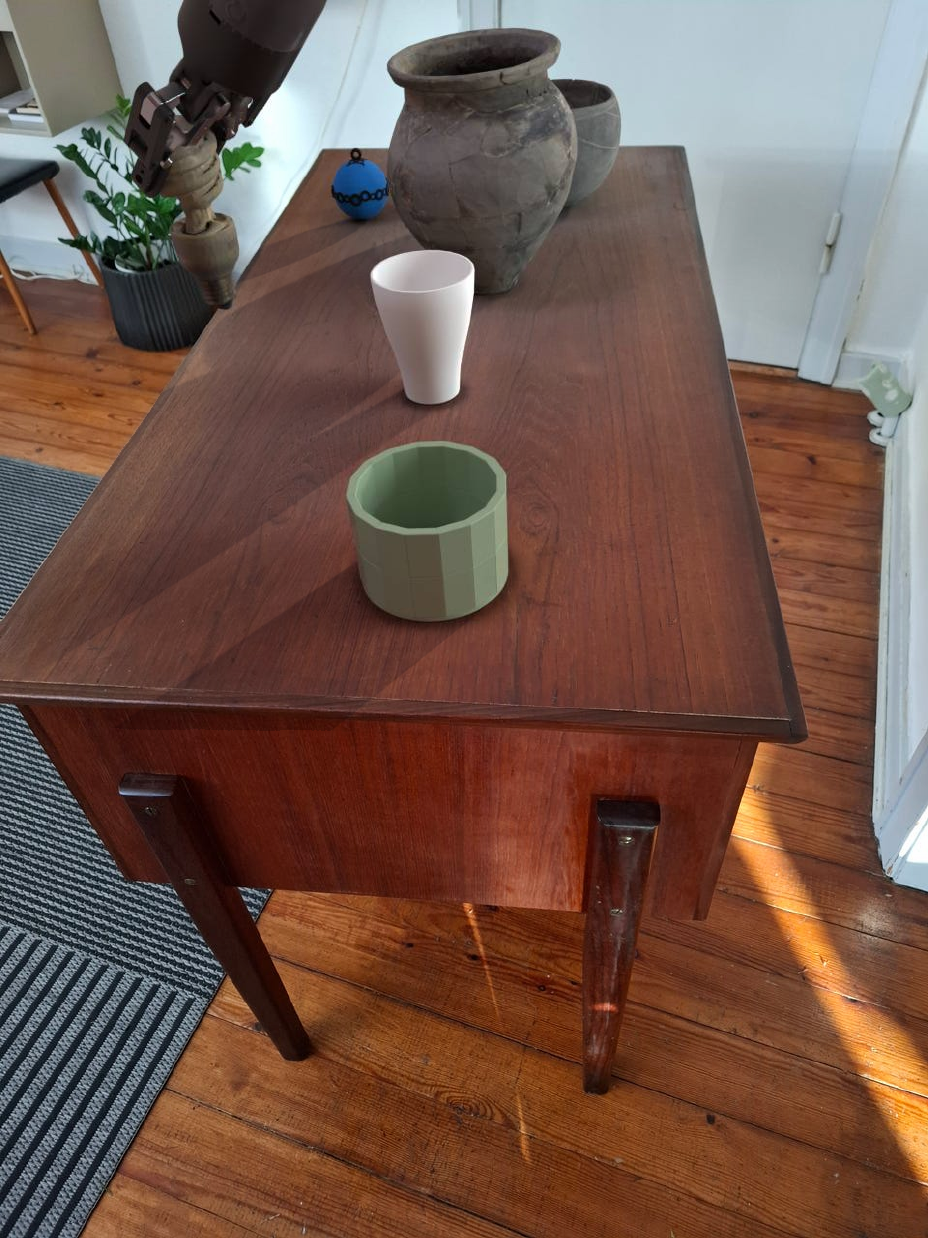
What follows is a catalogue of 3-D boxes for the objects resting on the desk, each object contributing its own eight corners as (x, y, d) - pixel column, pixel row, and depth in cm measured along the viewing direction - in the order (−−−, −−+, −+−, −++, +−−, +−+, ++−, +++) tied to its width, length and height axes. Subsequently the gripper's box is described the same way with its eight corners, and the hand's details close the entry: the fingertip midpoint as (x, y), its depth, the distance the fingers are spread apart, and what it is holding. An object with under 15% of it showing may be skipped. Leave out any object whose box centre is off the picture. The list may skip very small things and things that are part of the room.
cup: (463, 421, 94) (455, 296, 85) (371, 409, 97) (353, 287, 87) (491, 372, 101) (487, 253, 92) (404, 363, 104) (392, 246, 94)
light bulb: (252, 319, 75) (207, 121, 64) (187, 327, 74) (130, 129, 64) (254, 292, 79) (212, 101, 69) (192, 299, 79) (140, 109, 68)
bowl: (604, 174, 147) (610, 70, 137) (629, 221, 132) (637, 107, 121) (478, 184, 147) (473, 80, 136) (488, 232, 132) (484, 119, 121)
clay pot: (574, 292, 123) (568, 44, 114) (589, 277, 99) (582, -39, 90) (406, 303, 124) (388, 60, 116) (381, 291, 100) (356, -18, 92)
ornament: (394, 207, 141) (387, 138, 134) (387, 227, 135) (379, 156, 128) (341, 208, 142) (331, 140, 135) (331, 229, 136) (321, 158, 129)
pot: (387, 639, 71) (373, 552, 65) (345, 548, 80) (329, 463, 73) (532, 595, 74) (531, 508, 68) (476, 512, 82) (471, 427, 76)
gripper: (283, -73, 61) (197, 109, 74) (134, -37, 52) (65, 163, 65) (359, 22, 62) (261, 184, 75) (226, 72, 54) (141, 247, 66)
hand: (171, 174), depth 70 cm, fingers closed on light bulb, 5 cm apart
